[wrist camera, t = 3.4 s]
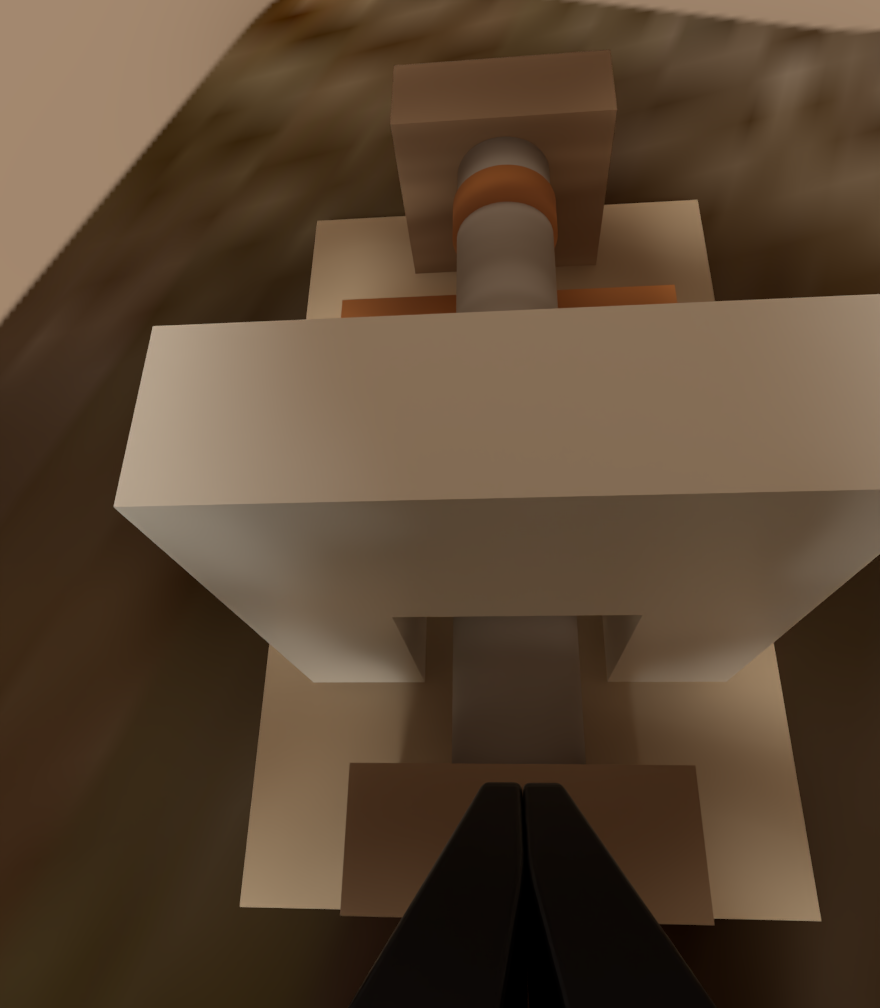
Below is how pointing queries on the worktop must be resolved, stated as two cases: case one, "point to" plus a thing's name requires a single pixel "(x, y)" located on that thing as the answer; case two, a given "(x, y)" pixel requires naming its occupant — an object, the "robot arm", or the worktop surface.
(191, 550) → the sleeve
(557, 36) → the worktop surface
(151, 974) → the worktop surface
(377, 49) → the worktop surface
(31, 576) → the worktop surface
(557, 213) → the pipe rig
